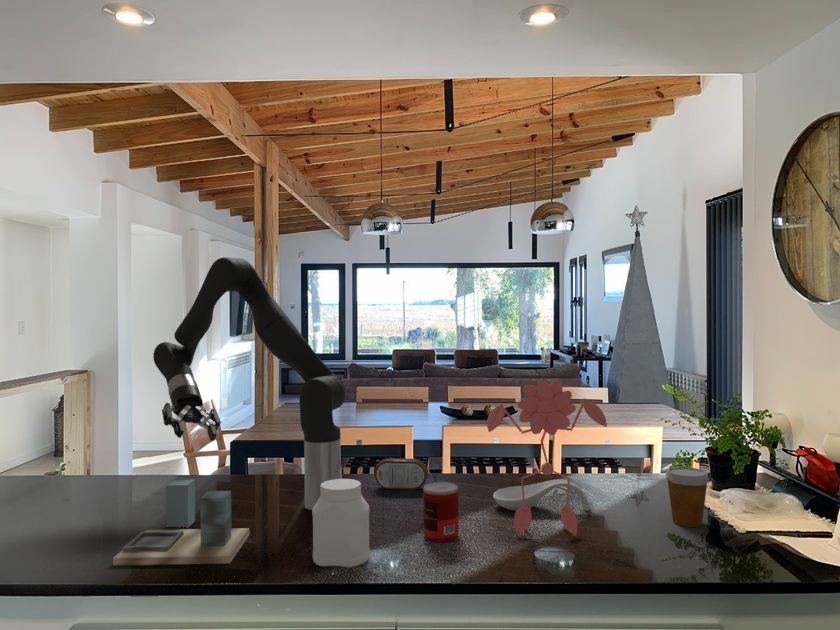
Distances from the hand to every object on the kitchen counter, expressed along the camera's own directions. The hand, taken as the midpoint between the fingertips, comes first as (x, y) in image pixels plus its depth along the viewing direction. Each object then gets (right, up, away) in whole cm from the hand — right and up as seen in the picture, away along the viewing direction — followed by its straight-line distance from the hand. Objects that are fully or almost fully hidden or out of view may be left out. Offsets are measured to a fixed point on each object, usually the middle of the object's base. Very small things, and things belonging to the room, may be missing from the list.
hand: (197, 436), depth 159 cm
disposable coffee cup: (+118, -18, -11) cm, 120 cm away
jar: (+40, -19, -30) cm, 54 cm away
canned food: (+61, -19, -19) cm, 66 cm away
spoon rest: (+86, -19, +1) cm, 88 cm away
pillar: (-1, -19, -9) cm, 21 cm away
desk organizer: (+6, -19, -25) cm, 32 cm away
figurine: (+84, -19, -21) cm, 88 cm away
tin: (+51, -19, +19) cm, 57 cm away
